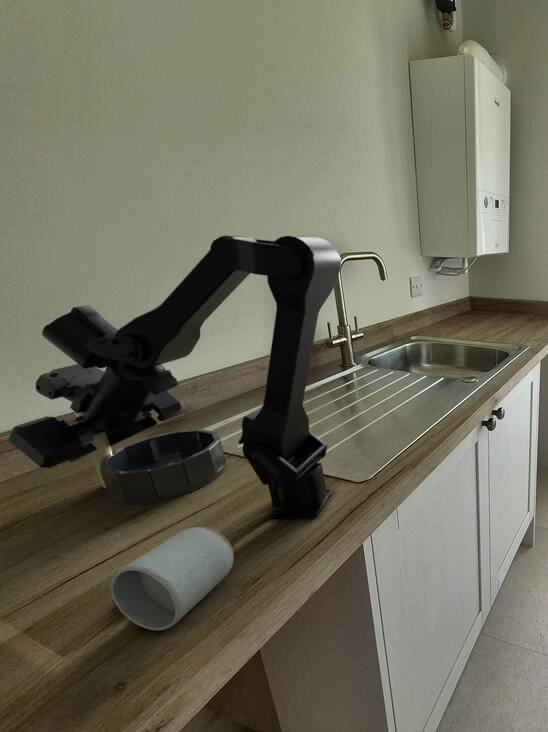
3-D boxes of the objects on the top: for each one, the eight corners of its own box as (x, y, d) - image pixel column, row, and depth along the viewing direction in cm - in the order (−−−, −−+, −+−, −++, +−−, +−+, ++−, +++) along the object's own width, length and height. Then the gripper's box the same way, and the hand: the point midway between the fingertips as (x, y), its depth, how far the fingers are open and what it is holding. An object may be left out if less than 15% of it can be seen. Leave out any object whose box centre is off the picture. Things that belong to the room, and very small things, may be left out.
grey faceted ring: (240, 452, 76) (224, 386, 72) (199, 498, 62) (176, 419, 58) (135, 462, 73) (111, 393, 68) (66, 512, 59) (32, 430, 55)
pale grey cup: (246, 574, 49) (231, 519, 46) (186, 635, 41) (164, 574, 39) (168, 567, 50) (149, 514, 48) (95, 625, 42) (68, 565, 40)
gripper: (147, 334, 66) (112, 394, 71) (-13, 366, 48) (-43, 443, 54) (200, 383, 67) (162, 439, 72) (64, 432, 49) (27, 500, 55)
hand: (88, 452), depth 63 cm, fingers open, 5 cm apart
